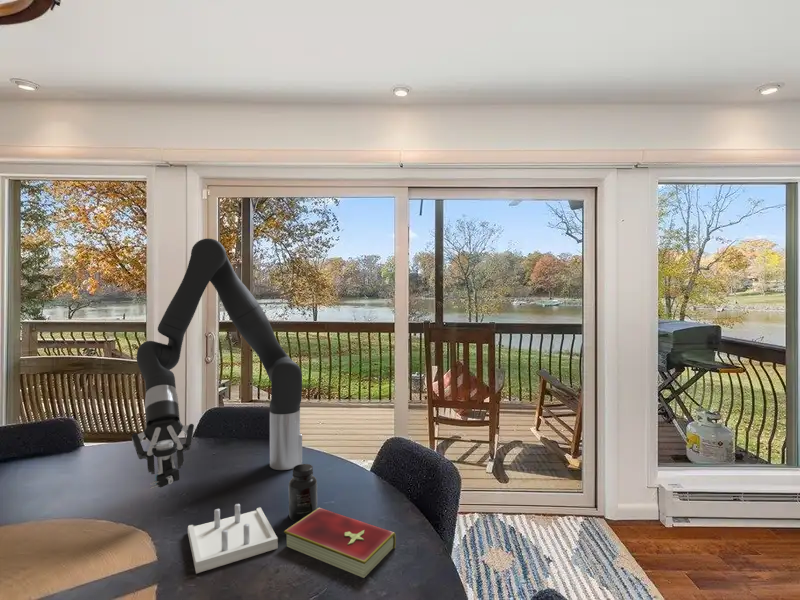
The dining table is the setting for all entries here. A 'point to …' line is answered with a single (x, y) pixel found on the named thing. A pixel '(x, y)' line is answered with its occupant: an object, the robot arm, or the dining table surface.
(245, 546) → the tray
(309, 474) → the supplement bottle
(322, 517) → the hardcover book
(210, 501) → the dining table surface
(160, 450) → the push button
